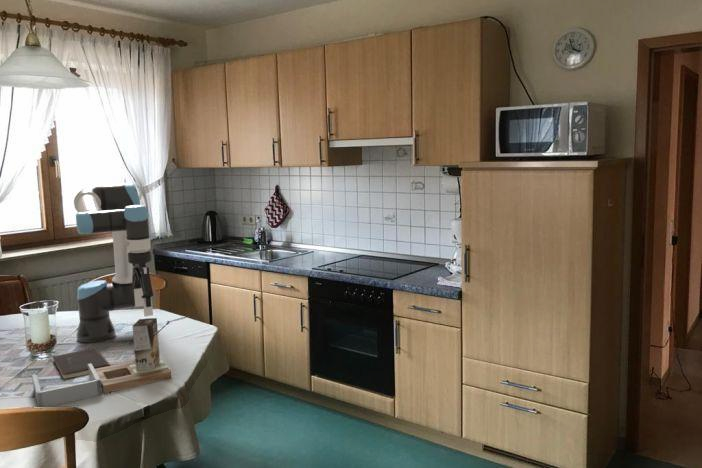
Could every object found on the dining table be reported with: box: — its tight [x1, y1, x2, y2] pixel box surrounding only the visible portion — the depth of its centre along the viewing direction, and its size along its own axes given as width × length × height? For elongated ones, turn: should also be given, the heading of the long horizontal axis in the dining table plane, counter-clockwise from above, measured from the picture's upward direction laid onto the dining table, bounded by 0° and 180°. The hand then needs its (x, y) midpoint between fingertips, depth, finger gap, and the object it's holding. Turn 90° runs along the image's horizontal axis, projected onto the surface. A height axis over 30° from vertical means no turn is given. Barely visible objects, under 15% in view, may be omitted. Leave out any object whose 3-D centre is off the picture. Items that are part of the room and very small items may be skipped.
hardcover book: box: [52, 347, 112, 380], centre depth 227 cm, size 16×23×2 cm
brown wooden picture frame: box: [95, 358, 172, 394], centre depth 214 cm, size 18×22×3 cm
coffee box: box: [132, 317, 161, 371], centre depth 215 cm, size 9×6×16 cm
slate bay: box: [31, 363, 103, 408], centre depth 202 cm, size 18×18×5 cm
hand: (143, 311), depth 213 cm, fingers open, 13 cm apart
